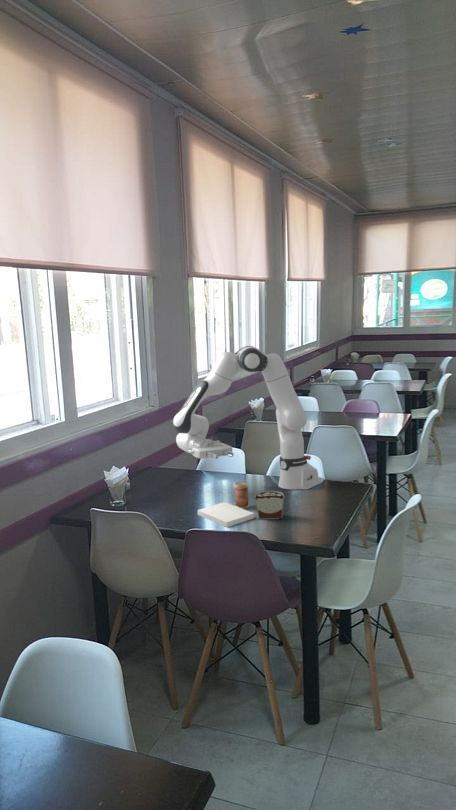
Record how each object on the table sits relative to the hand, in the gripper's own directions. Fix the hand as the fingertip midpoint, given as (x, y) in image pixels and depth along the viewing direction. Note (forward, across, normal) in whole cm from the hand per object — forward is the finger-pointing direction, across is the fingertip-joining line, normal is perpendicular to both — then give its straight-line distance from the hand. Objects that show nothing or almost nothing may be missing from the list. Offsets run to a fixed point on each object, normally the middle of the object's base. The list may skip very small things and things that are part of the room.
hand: (224, 456), depth 247 cm
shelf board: (+15, -11, +20) cm, 28 cm away
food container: (+30, 0, +17) cm, 35 cm away
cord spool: (+13, +1, +19) cm, 23 cm away
